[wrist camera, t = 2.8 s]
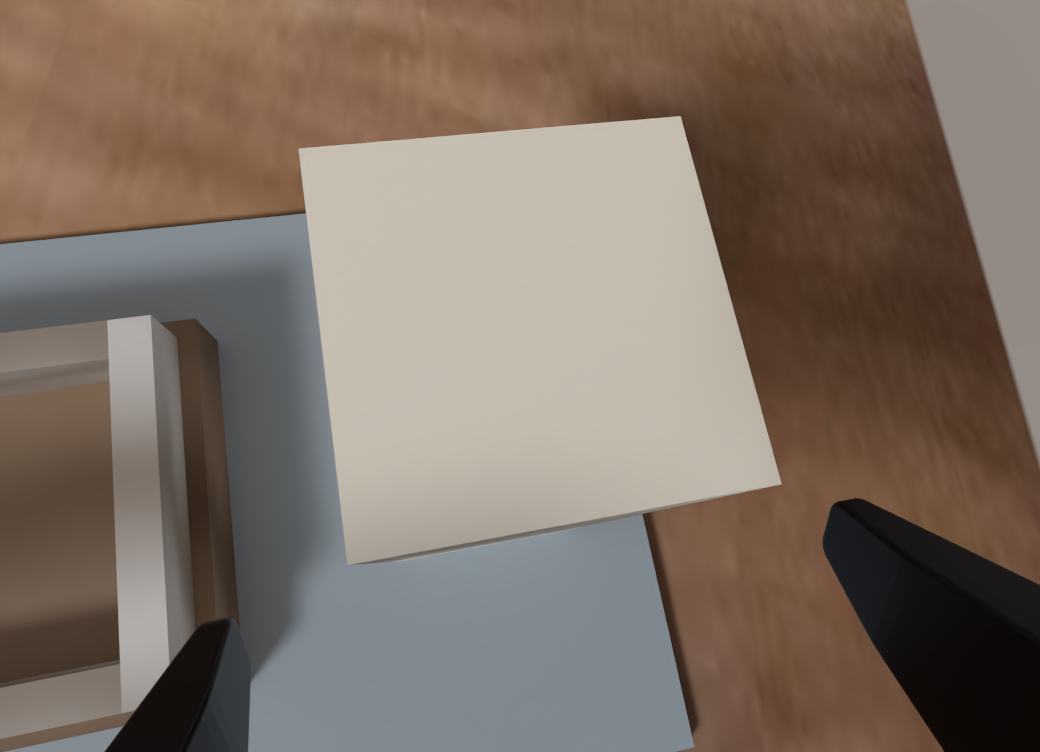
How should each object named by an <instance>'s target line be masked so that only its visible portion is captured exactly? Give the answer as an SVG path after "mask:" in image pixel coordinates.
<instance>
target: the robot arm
mask: <svg viewBox="0 0 1040 752" xmlns="http://www.w3.org/2000/svg"><path fill="white" fill-rule="evenodd" d="M823 549H824V552H825V555H826V557H827V559H828V561H829V563H830V565H831V567H832V569H833V570H834V572H835V574H836V576H837V578H838V580H839V582H840V584H841V585H842V587H843V589H844V591H845V593H846V595H847V597H848V599H849V600H850V602H851V604H852V606H853V608H854V610H855V612H856V614H857V616H858V617H859V619H860V621H861V623H862V625H863V627H864V629H865V630H866V632H867V634H868V636H869V637H870V639H871V641H872V643H873V644H874V646H875V647H876V649H877V650H878V652H879V654H880V655H881V657H882V658H883V660H884V661H885V663H886V664H887V666H888V667H889V669H890V670H891V672H892V673H893V675H894V676H895V678H896V679H897V681H898V682H899V684H900V685H901V687H902V688H903V690H904V692H905V693H906V695H907V696H908V698H909V699H910V701H911V702H912V704H913V705H914V707H915V708H916V710H917V711H918V713H919V714H920V716H921V717H922V719H923V720H924V722H925V723H926V725H927V726H928V728H929V729H930V731H931V732H932V734H933V735H934V737H935V738H936V740H937V741H938V743H939V744H940V746H941V747H942V749H943V750H944V752H1040V585H1039V584H1037V583H1035V582H1033V581H1031V580H1028V579H1026V578H1024V577H1022V576H1020V575H1018V574H1016V573H1014V572H1012V571H1010V570H1008V569H1006V568H1004V567H1002V566H1000V565H998V564H995V563H993V562H991V561H989V560H987V559H985V558H983V557H981V556H979V555H977V554H975V553H973V552H971V551H969V550H967V549H965V548H963V547H960V546H958V545H956V544H954V543H952V542H950V541H948V540H946V539H944V538H942V537H940V536H938V535H936V534H934V533H932V532H930V531H927V530H925V529H923V528H921V527H919V526H917V525H915V524H913V523H911V522H909V521H907V520H905V519H903V518H901V517H899V516H897V515H895V514H892V513H890V512H888V511H886V510H884V509H882V508H880V507H878V506H876V505H874V504H872V503H870V502H868V501H866V500H863V499H860V498H854V499H849V500H844V501H838V502H836V503H834V504H833V506H832V507H831V509H830V513H829V517H828V521H827V524H826V528H825V532H824V536H823ZM250 687H251V664H250V657H249V654H248V651H247V648H246V646H245V643H244V641H243V638H242V635H241V633H240V630H239V628H238V625H237V623H236V621H235V620H234V619H233V618H223V619H217V620H212V621H207V622H204V623H202V624H200V625H199V626H198V627H197V628H196V630H195V631H194V632H193V634H192V635H191V636H190V638H189V639H188V640H187V642H186V643H185V644H184V646H183V647H182V648H181V650H180V651H179V652H178V654H177V655H176V656H175V658H174V659H173V660H172V662H171V663H170V664H169V666H168V667H167V668H166V670H165V671H164V672H163V674H162V675H161V676H160V678H159V679H158V681H157V682H156V683H155V685H154V686H153V687H152V689H151V690H150V691H149V693H148V694H147V695H146V697H145V698H144V699H143V701H142V702H141V703H140V705H139V706H138V707H137V709H136V710H135V711H134V713H133V714H132V715H131V717H130V718H129V719H128V721H127V722H126V723H125V725H124V726H123V727H122V729H121V730H120V731H119V733H118V734H117V735H116V737H115V738H114V739H113V741H112V742H111V743H110V745H109V746H108V747H107V749H106V750H105V752H248V742H249V714H250Z"/></svg>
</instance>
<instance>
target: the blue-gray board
mask: <svg viewBox="0 0 1040 752" xmlns="http://www.w3.org/2000/svg"><path fill="white" fill-rule="evenodd" d="M146 315H151V316H152V317H154V318H155V319H156V320H157V321H158V322H159V323H162V322H170V321H178V320H186V319H194V318H195V319H196V320H197V321H198V322H199V323H200V324H201V325H202V326H203V327H204V328H205V329H206V330H207V331H208V332H209V333H210V334H211V335H212V336H213V337H214V338H215V339H216V340H217V341H218V354H219V367H220V379H221V392H222V405H223V418H224V430H225V443H226V456H227V469H228V482H229V494H230V507H231V520H232V533H233V545H234V558H235V571H236V584H237V596H238V609H239V622H240V633H241V635H242V638H243V641H244V643H245V646H246V648H247V651H248V654H249V657H250V664H251V687H250V714H249V742H248V752H677V751H681V750H685V749H689V748H693V747H694V743H693V739H692V734H691V730H690V725H689V721H688V716H687V712H686V707H685V703H684V698H683V694H682V689H681V685H680V680H679V676H678V671H677V667H676V662H675V658H674V653H673V649H672V644H671V640H670V635H669V631H668V626H667V622H666V617H665V613H664V609H663V604H662V600H661V595H660V591H659V586H658V582H657V577H656V573H655V568H654V564H653V559H652V555H651V550H650V546H649V541H648V537H647V532H646V528H645V523H644V519H643V514H640V515H635V516H631V517H626V518H621V519H617V520H612V521H608V522H603V523H598V524H594V525H589V526H584V527H580V528H575V529H570V530H565V531H560V532H555V533H549V534H544V535H539V536H533V537H528V538H523V539H517V540H512V541H507V542H501V543H496V544H491V545H485V546H480V547H475V548H469V549H464V550H459V551H454V552H448V553H443V554H438V555H432V556H427V557H422V558H416V559H411V560H406V561H397V562H384V563H370V564H356V565H347V557H346V549H345V540H344V532H343V523H342V515H341V506H340V498H339V489H338V481H337V472H336V463H335V455H334V446H333V438H332V429H331V421H330V412H329V404H328V395H327V387H326V378H325V369H324V361H323V352H322V344H321V335H320V327H319V318H318V310H317V301H316V293H315V284H314V276H313V267H312V258H311V250H310V241H309V233H308V224H307V216H306V213H305V214H295V215H285V216H276V217H266V218H256V219H246V220H236V221H226V222H216V223H206V224H196V225H186V226H176V227H167V228H157V229H147V230H137V231H127V232H117V233H107V234H97V235H87V236H77V237H67V238H58V239H48V240H38V241H28V242H18V243H8V244H0V333H5V332H13V331H22V330H30V329H38V328H47V327H55V326H63V325H71V324H80V323H88V322H96V321H105V320H113V319H121V318H129V317H138V316H146ZM122 727H123V726H122ZM122 727H118V728H113V729H108V730H104V731H99V732H94V733H90V734H85V735H80V736H76V737H71V738H66V739H62V740H57V741H52V742H48V743H43V744H38V745H34V746H29V747H24V748H20V749H15V750H10V751H6V752H105V750H106V749H107V747H108V746H109V745H110V743H111V742H112V741H113V739H114V738H115V737H116V735H117V734H118V733H119V731H120V730H121V729H122Z"/></svg>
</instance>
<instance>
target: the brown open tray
mask: <svg viewBox="0 0 1040 752" xmlns="http://www.w3.org/2000/svg"><path fill="white" fill-rule="evenodd" d="M223 618H233V619H234V620H235V621H236V623H237V625H238V628H239V630H240V622H239V609H238V596H237V584H236V571H235V558H234V545H233V533H232V520H231V507H230V494H229V482H228V469H227V456H226V443H225V430H224V418H223V405H222V392H221V379H220V367H219V354H218V341H217V340H216V339H215V338H214V337H213V336H212V335H211V334H210V333H209V332H208V331H207V330H206V329H205V328H204V327H203V326H202V325H201V324H200V323H199V322H198V321H197V320H196V319H195V318H194V319H186V320H178V321H170V322H162V323H159V322H158V321H157V320H156V319H155V318H154V317H152V316H151V315H146V316H138V317H129V318H121V319H113V320H105V321H96V322H88V323H80V324H71V325H63V326H55V327H47V328H38V329H30V330H22V331H13V332H5V333H0V752H6V751H10V750H15V749H20V748H24V747H29V746H34V745H38V744H43V743H48V742H52V741H57V740H62V739H66V738H71V737H76V736H80V735H85V734H90V733H94V732H99V731H104V730H108V729H113V728H118V727H122V726H124V725H125V723H126V722H127V721H128V719H129V718H130V717H131V715H132V714H133V713H134V711H135V710H136V709H137V707H138V706H139V705H140V703H141V702H142V701H143V699H144V698H145V697H146V695H147V694H148V693H149V691H150V690H151V689H152V687H153V686H154V685H155V683H156V682H157V681H158V679H159V678H160V676H161V675H162V674H163V672H164V671H165V670H166V668H167V667H168V666H169V664H170V663H171V662H172V660H173V659H174V658H175V656H176V655H177V654H178V652H179V651H180V650H181V648H182V647H183V646H184V644H185V643H186V642H187V640H188V639H189V638H190V636H191V635H192V634H193V632H194V631H195V630H196V628H197V627H198V626H199V625H200V624H202V623H204V622H207V621H212V620H217V619H223Z"/></svg>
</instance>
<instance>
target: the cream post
mask: <svg viewBox="0 0 1040 752" xmlns="http://www.w3.org/2000/svg"><path fill="white" fill-rule="evenodd" d="M299 156H300V165H301V173H302V182H303V190H304V199H305V207H306V216H307V224H308V233H309V241H310V250H311V258H312V267H313V276H314V284H315V293H316V301H317V310H318V318H319V327H320V335H321V344H322V352H323V361H324V369H325V378H326V387H327V395H328V404H329V412H330V421H331V429H332V438H333V446H334V455H335V463H336V472H337V481H338V489H339V498H340V506H341V515H342V523H343V532H344V540H345V549H346V557H347V565H356V564H370V563H384V562H397V561H406V560H411V559H416V558H422V557H427V556H432V555H438V554H443V553H448V552H454V551H459V550H464V549H469V548H475V547H480V546H485V545H491V544H496V543H501V542H507V541H512V540H517V539H523V538H528V537H533V536H539V535H544V534H549V533H555V532H560V531H565V530H570V529H575V528H580V527H584V526H589V525H594V524H598V523H603V522H608V521H612V520H617V519H621V518H626V517H631V516H635V515H640V514H645V513H649V512H654V511H659V510H663V509H668V508H673V507H677V506H682V505H687V504H691V503H696V502H701V501H705V500H710V499H715V498H719V497H724V496H729V495H733V494H738V493H743V492H747V491H752V490H757V489H761V488H766V487H771V486H775V485H780V484H781V480H780V477H779V473H778V469H777V466H776V462H775V458H774V455H773V451H772V448H771V444H770V440H769V437H768V433H767V429H766V426H765V422H764V418H763V415H762V411H761V407H760V404H759V400H758V397H757V393H756V389H755V386H754V382H753V378H752V375H751V371H750V367H749V364H748V360H747V357H746V353H745V349H744V346H743V342H742V338H741V335H740V331H739V327H738V324H737V320H736V316H735V313H734V309H733V306H732V302H731V298H730V295H729V291H728V287H727V284H726V280H725V276H724V273H723V269H722V265H721V262H720V258H719V255H718V251H717V247H716V244H715V240H714V236H713V233H712V229H711V225H710V222H709V218H708V214H707V211H706V207H705V204H704V200H703V196H702V193H701V189H700V185H699V182H698V178H697V174H696V171H695V167H694V164H693V160H692V156H691V153H690V149H689V145H688V142H687V138H686V134H685V131H684V127H683V123H682V120H681V116H676V117H665V118H653V119H641V120H629V121H618V122H606V123H594V124H583V125H571V126H559V127H547V128H536V129H524V130H512V131H501V132H489V133H477V134H465V135H454V136H442V137H430V138H419V139H407V140H395V141H383V142H372V143H360V144H348V145H337V146H325V147H313V148H301V149H299Z"/></svg>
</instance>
